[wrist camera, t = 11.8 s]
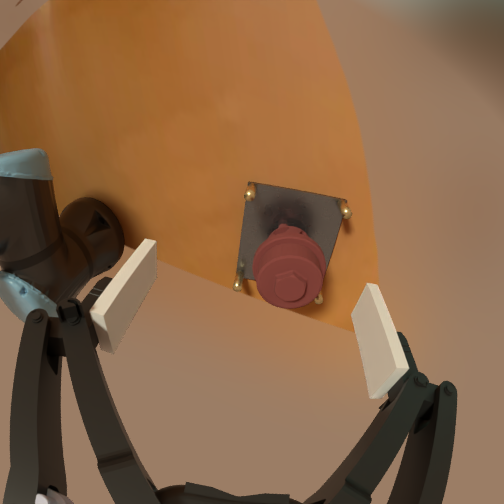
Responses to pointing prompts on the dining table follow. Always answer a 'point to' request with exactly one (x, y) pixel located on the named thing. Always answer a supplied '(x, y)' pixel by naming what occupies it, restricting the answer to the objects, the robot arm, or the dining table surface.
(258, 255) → the mechanical component
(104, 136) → the dining table surface
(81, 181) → the dining table surface
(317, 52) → the dining table surface
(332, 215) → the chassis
